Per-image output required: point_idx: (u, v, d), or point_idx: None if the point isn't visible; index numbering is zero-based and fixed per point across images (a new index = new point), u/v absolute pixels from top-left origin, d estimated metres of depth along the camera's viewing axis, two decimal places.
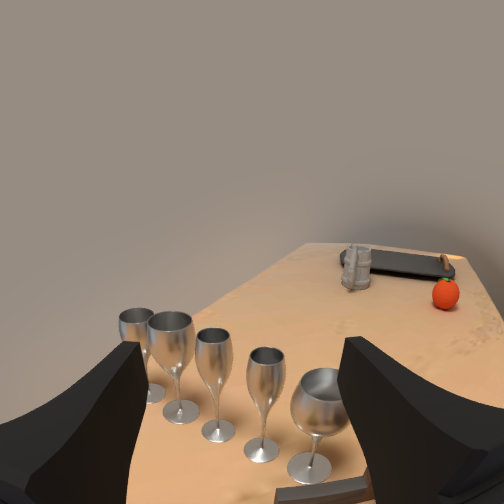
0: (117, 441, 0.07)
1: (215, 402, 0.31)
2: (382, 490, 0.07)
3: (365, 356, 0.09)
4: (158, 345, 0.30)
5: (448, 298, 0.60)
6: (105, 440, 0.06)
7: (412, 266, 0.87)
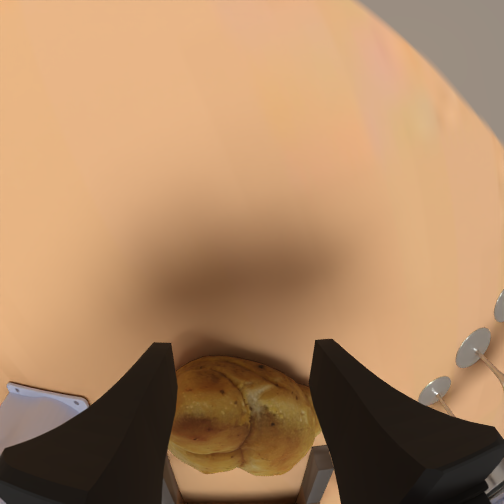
0: (154, 445, 0.07)
1: None
2: (347, 499, 0.06)
3: (331, 360, 0.09)
4: None
5: None
6: (145, 445, 0.06)
7: None
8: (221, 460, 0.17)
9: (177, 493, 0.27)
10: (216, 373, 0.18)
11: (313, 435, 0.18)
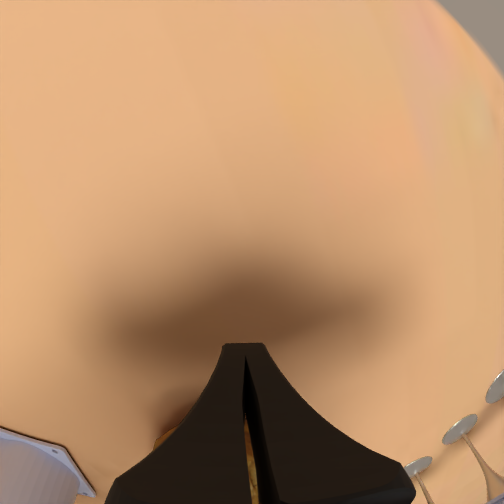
0: None
1: (483, 466, 0.15)
2: None
3: (249, 365, 0.09)
4: None
5: None
6: None
7: None
8: None
9: None
10: None
11: None
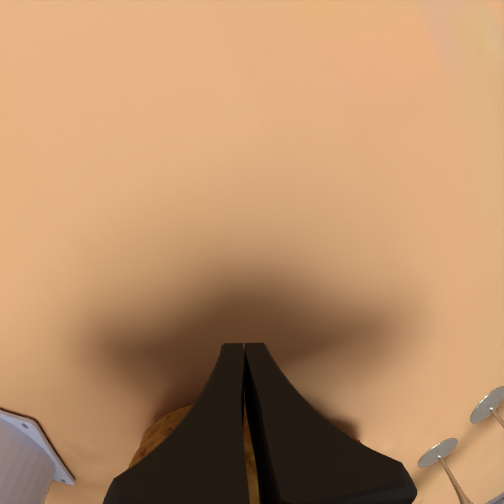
0: None
1: None
2: None
3: (249, 365, 0.09)
4: None
5: None
6: None
7: None
8: None
9: None
10: None
11: None
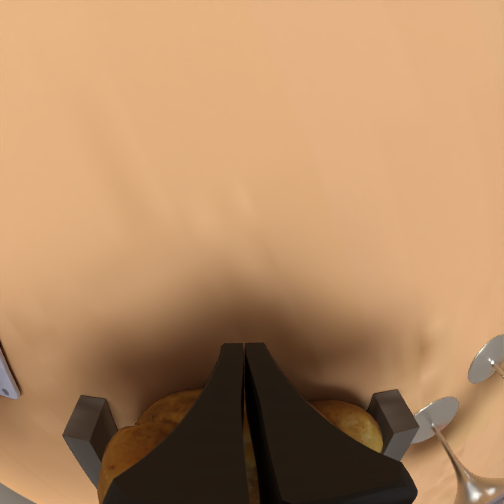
0: None
1: None
2: None
3: (250, 365, 0.09)
4: None
5: None
6: None
7: None
8: None
9: None
10: (166, 427, 0.10)
11: None
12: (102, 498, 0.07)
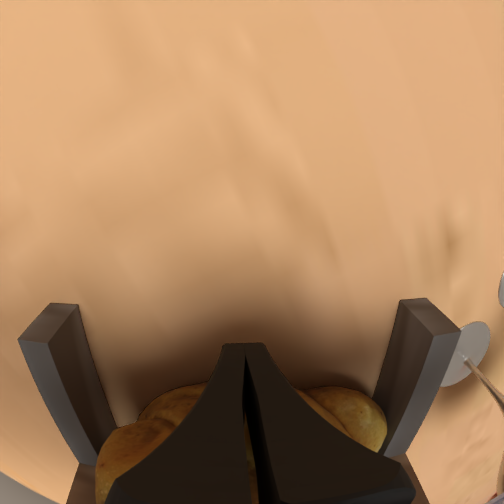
0: None
1: None
2: None
3: (249, 365, 0.09)
4: None
5: None
6: None
7: None
8: None
9: None
10: (155, 424, 0.10)
11: None
12: (96, 496, 0.07)
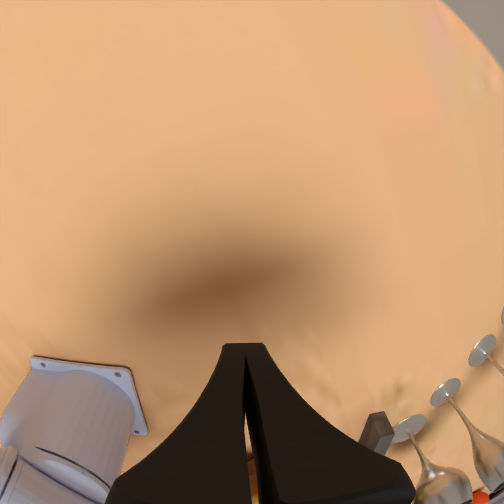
0: None
1: None
2: None
3: (249, 365, 0.09)
4: None
5: None
6: None
7: None
8: None
9: None
10: None
11: None
12: None
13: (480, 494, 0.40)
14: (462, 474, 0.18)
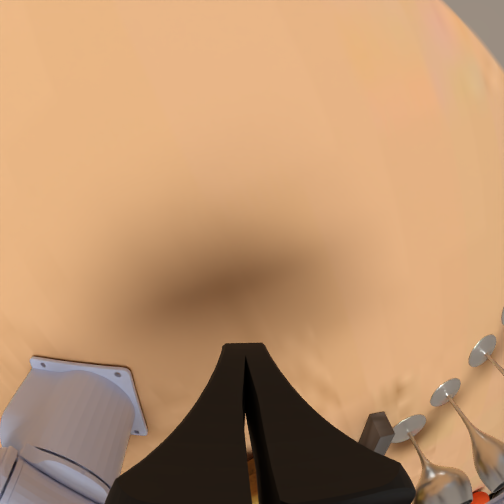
0: None
1: None
2: None
3: (249, 365, 0.09)
4: None
5: None
6: None
7: None
8: None
9: None
10: None
11: None
12: None
13: (480, 494, 0.40)
14: (462, 474, 0.18)
